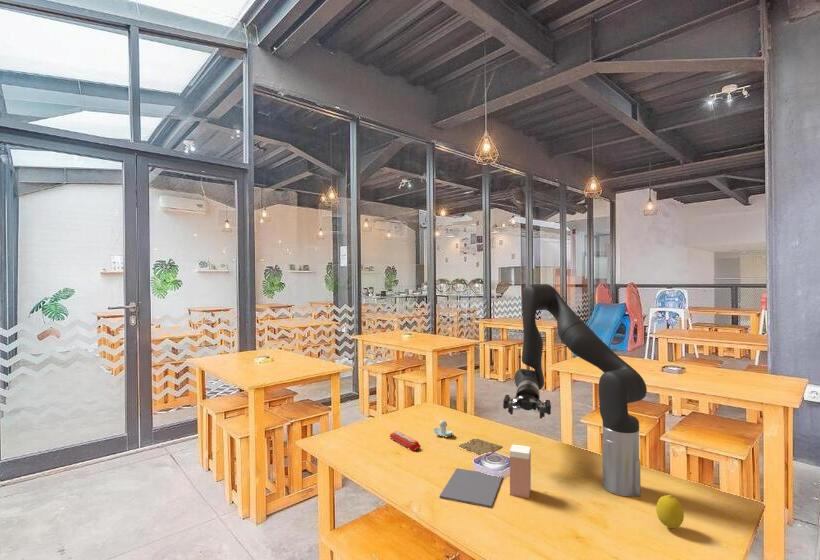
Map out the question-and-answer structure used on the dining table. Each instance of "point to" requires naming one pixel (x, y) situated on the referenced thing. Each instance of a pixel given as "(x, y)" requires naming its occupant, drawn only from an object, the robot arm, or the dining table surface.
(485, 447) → the mottled brown square tile
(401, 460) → the dining table surface
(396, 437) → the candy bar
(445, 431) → the pacifier
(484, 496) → the mat
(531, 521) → the dining table surface
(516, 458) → the block
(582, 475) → the dining table surface
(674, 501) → the lemon
